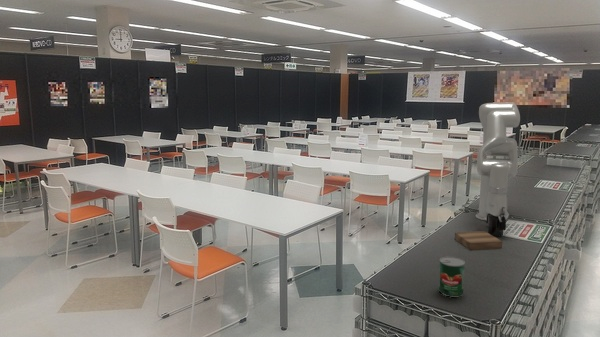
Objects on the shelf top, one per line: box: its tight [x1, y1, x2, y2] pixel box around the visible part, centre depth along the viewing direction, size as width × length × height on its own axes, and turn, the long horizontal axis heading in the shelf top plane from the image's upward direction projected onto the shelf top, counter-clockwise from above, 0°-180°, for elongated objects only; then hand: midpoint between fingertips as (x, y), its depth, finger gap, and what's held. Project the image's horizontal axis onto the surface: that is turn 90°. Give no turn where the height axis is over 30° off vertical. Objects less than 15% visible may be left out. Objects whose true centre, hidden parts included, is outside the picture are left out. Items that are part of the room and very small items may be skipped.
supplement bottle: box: [486, 214, 505, 238], centre depth 192 cm, size 7×7×12 cm
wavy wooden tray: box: [454, 230, 503, 251], centre depth 182 cm, size 14×14×3 cm
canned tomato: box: [438, 256, 466, 297], centre depth 137 cm, size 8×8×11 cm
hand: (495, 226), depth 192 cm, fingers open, 9 cm apart
